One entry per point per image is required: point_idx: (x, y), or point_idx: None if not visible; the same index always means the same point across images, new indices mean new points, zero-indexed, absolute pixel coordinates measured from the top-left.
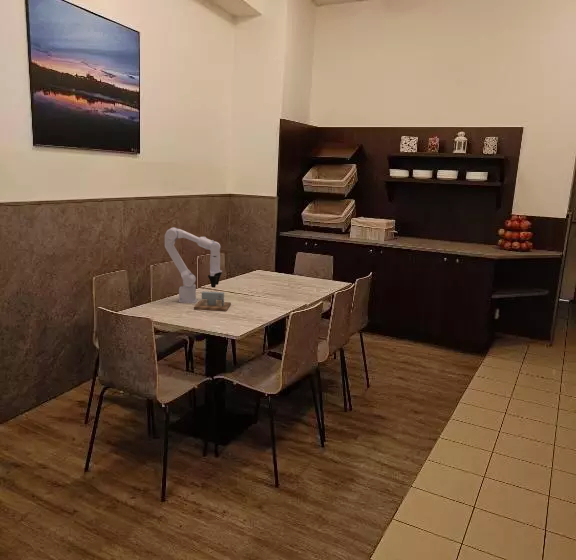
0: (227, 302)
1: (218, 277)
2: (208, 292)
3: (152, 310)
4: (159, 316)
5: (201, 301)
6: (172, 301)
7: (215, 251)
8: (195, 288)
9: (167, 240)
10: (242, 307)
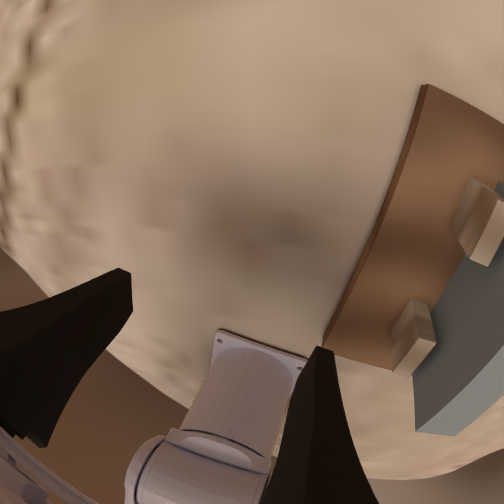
0: (427, 121)
1: (45, 343)
2: (485, 400)
3: (393, 466)
4: (478, 450)
5: (345, 344)
6: None
7: None
8: (236, 429)
9: None
10: (488, 5)
